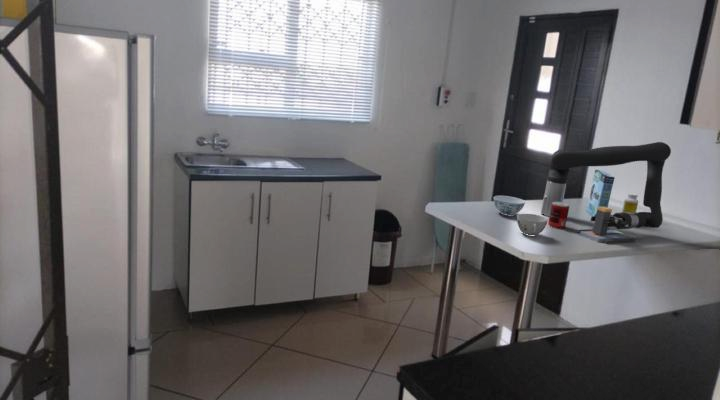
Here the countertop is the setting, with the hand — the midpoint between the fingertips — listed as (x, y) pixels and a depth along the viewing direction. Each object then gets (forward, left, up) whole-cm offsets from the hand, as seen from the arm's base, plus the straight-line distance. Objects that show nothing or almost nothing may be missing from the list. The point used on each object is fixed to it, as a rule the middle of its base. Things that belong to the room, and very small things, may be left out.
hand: (599, 221), depth 228 cm
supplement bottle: (+22, +56, -8) cm, 61 cm away
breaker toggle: (+1, +1, -5) cm, 6 cm away
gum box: (+5, +47, -8) cm, 48 cm away
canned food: (-16, +9, -8) cm, 20 cm away
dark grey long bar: (+10, -1, -8) cm, 12 cm away
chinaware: (-39, +16, -8) cm, 43 cm away
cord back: (0, +10, -8) cm, 12 cm away
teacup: (-28, -16, -8) cm, 33 cm away
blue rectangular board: (+5, +4, -8) cm, 10 cm away
